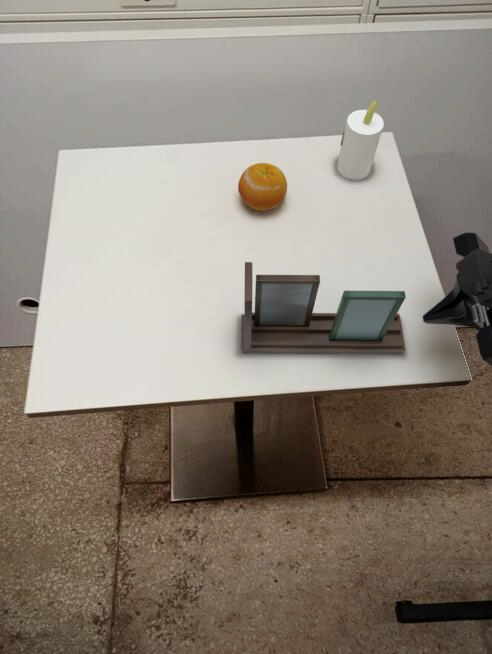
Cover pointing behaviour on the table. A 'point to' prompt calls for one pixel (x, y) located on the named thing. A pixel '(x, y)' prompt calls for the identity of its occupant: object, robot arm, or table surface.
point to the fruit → (262, 186)
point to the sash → (365, 315)
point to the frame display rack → (299, 320)
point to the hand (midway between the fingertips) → (424, 320)
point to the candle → (359, 143)
